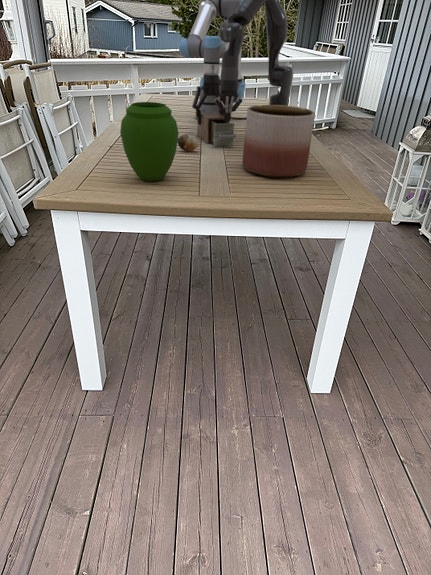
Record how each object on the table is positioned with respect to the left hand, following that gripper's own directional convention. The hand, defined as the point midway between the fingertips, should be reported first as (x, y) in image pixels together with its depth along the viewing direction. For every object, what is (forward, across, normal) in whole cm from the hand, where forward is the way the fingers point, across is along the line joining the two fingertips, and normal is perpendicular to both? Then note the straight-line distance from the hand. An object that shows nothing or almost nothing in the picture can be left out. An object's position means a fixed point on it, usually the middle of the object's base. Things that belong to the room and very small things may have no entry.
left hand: (209, 123), depth 205 cm
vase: (+6, -42, -62) cm, 75 cm away
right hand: (-5, 0, -24) cm, 25 cm away
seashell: (+6, -19, -27) cm, 33 cm away
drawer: (+5, 0, -16) cm, 17 cm away
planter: (+7, +8, -60) cm, 61 cm away
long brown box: (+6, 0, -5) cm, 8 cm away
